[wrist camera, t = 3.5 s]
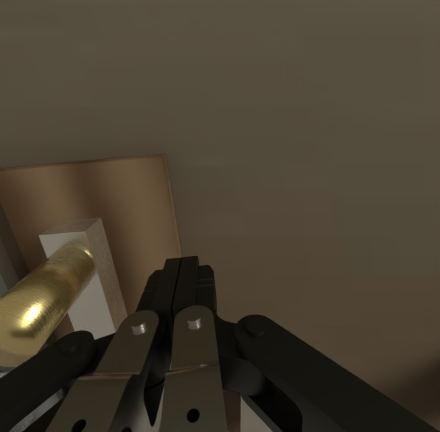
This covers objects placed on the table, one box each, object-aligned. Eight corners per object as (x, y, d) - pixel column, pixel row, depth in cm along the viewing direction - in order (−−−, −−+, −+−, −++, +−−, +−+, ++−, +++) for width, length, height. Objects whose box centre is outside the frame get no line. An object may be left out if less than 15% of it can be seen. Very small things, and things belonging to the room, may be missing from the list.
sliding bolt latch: (165, 153, 17) (157, 159, 14) (213, 456, 29) (213, 489, 26) (-153, 181, 16) (-219, 192, 14) (29, 473, 29) (11, 508, 26)
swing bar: (157, 396, 20) (131, 526, 14) (113, 400, 20) (66, 532, 14) (111, 216, 15) (32, 292, 8) (50, 221, 15) (-78, 301, 8)
